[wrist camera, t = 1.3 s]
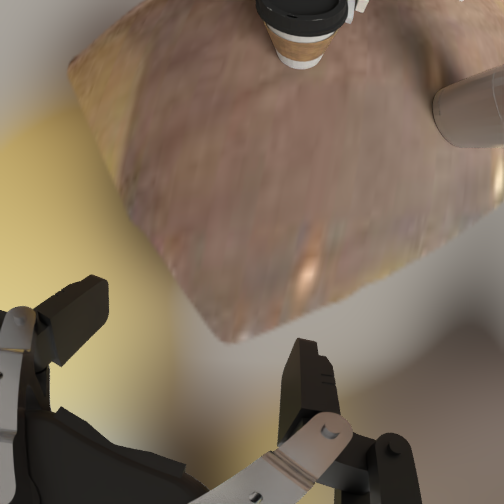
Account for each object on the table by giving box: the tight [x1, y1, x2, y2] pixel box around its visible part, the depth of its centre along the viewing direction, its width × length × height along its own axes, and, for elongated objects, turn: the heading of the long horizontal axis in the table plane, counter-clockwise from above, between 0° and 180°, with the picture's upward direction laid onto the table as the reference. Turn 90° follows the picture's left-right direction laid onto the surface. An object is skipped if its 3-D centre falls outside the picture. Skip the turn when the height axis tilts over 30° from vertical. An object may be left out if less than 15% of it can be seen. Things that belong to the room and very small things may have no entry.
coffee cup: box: [256, 0, 348, 69], centre depth 21 cm, size 8×8×15 cm
